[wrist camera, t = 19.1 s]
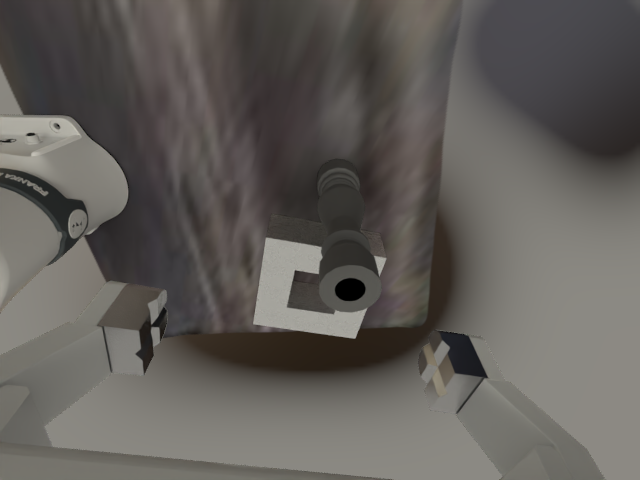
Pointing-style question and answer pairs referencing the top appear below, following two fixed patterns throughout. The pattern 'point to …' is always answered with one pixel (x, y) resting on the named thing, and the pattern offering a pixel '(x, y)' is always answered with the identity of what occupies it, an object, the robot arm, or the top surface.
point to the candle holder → (344, 241)
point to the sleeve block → (299, 297)
